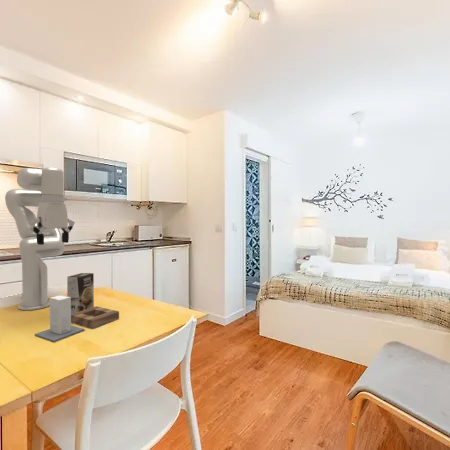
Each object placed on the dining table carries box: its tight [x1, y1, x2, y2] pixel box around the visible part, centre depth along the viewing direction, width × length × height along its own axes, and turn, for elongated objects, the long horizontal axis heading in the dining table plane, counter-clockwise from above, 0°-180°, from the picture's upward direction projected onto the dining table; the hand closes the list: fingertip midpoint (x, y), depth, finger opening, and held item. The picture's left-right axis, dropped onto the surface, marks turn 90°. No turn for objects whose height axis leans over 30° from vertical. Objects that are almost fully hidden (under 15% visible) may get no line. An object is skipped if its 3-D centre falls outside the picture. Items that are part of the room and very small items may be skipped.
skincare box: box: [49, 295, 72, 334], centre depth 101 cm, size 6×4×12 cm
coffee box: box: [66, 272, 95, 314], centre depth 123 cm, size 9×6×16 cm
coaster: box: [34, 324, 85, 343], centre depth 101 cm, size 11×11×1 cm
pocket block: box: [71, 306, 120, 330], centre depth 113 cm, size 14×12×3 cm
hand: (53, 243), depth 113 cm, fingers open, 9 cm apart
